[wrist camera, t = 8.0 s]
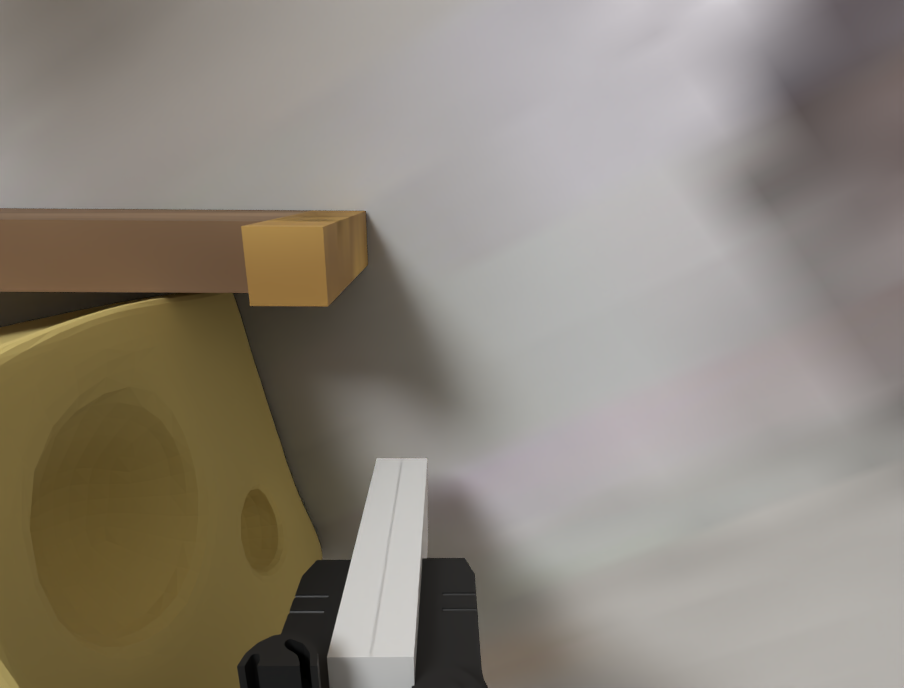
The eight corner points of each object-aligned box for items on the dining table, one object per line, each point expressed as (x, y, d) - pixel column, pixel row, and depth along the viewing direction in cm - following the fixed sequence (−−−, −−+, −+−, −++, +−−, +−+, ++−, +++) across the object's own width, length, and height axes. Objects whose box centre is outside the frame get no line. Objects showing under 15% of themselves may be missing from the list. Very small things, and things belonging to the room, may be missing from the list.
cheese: (334, 555, 18) (204, 980, 8) (41, 605, 19) (-392, 1056, 9) (240, 259, 15) (-130, 400, 5) (-109, 329, 15) (-1004, 569, 6)
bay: (-342, 205, 14) (-758, 219, 9) (365, 211, 15) (322, 226, 10) (-129, 695, 20) (-322, 868, 15) (385, 695, 20) (364, 866, 15)
